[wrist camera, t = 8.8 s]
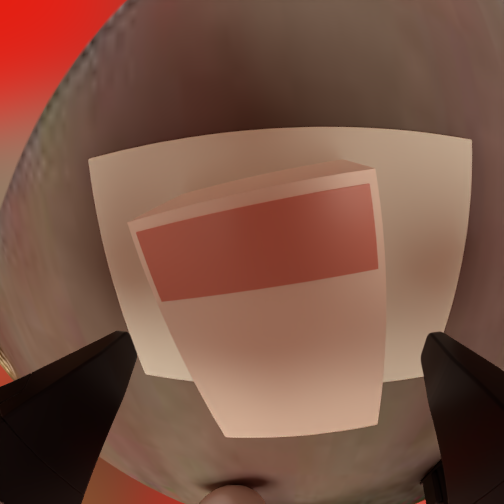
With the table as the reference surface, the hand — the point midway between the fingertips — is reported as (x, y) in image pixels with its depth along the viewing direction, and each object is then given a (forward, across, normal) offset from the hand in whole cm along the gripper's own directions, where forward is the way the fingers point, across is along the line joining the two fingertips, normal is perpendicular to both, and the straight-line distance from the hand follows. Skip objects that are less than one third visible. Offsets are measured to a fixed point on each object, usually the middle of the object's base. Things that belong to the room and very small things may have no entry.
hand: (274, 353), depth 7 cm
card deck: (+4, 0, 0) cm, 4 cm away
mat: (+5, 0, 0) cm, 5 cm away
